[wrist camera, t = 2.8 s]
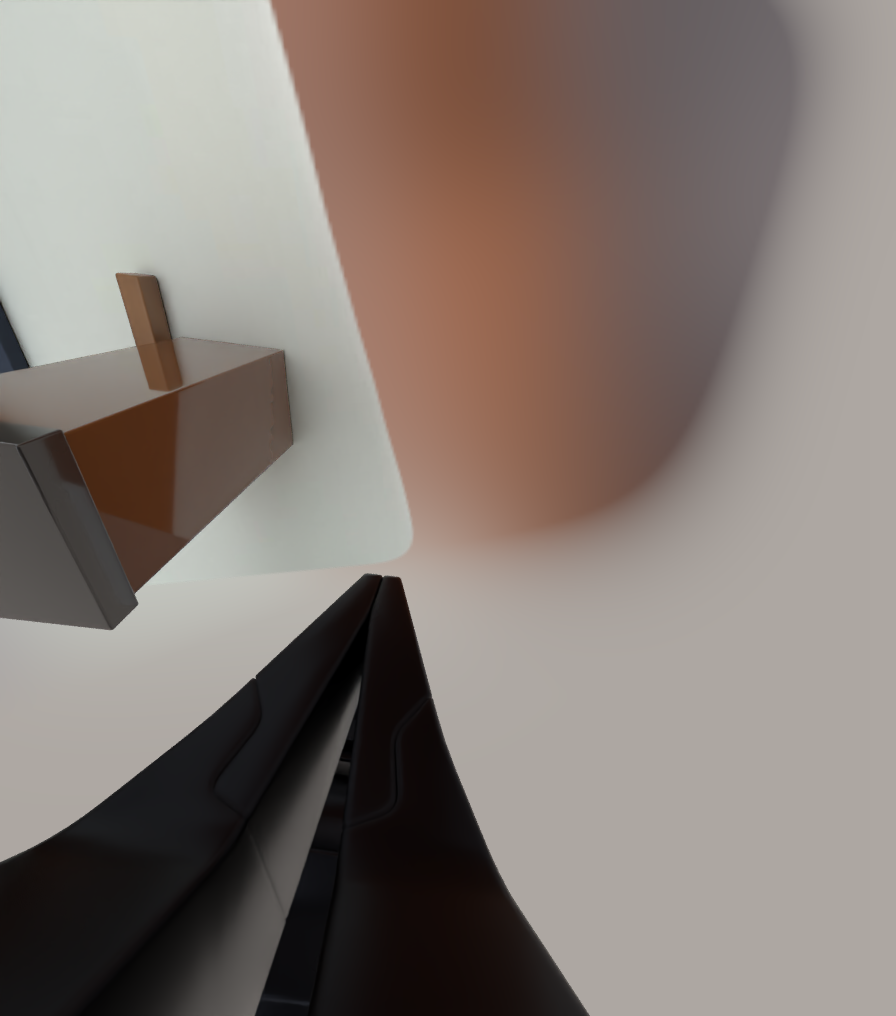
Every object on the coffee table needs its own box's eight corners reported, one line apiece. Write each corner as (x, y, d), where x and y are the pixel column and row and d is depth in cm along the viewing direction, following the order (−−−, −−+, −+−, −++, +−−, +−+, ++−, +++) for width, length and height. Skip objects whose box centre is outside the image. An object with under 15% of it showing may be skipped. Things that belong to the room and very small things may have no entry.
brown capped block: (297, 448, 21) (112, 631, 10) (201, 436, 21) (-92, 608, 10) (287, 345, 19) (17, 445, 7) (176, 331, 18) (-267, 410, 7)
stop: (205, 472, 22) (192, 481, 21) (188, 470, 22) (175, 479, 21) (156, 275, 17) (137, 275, 16) (134, 272, 17) (113, 272, 16)
